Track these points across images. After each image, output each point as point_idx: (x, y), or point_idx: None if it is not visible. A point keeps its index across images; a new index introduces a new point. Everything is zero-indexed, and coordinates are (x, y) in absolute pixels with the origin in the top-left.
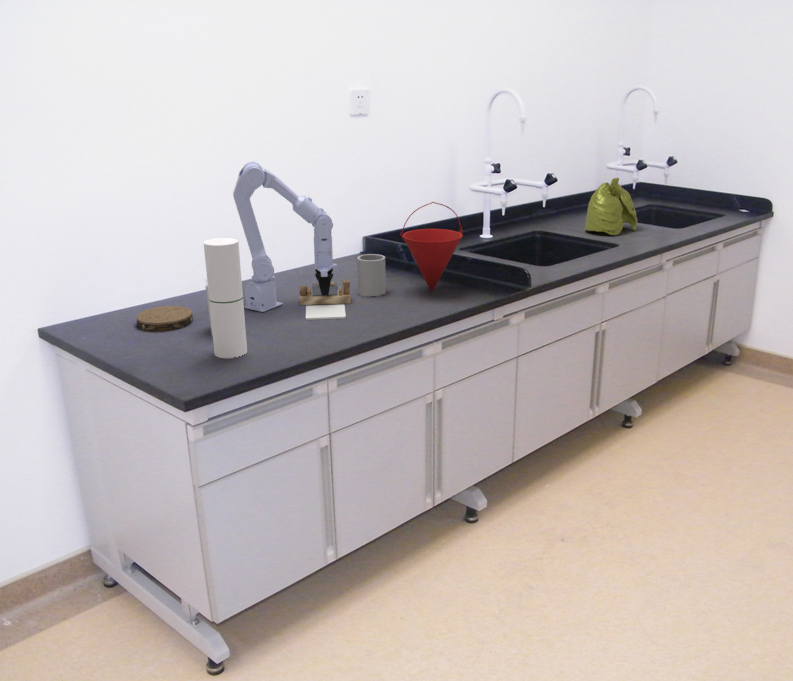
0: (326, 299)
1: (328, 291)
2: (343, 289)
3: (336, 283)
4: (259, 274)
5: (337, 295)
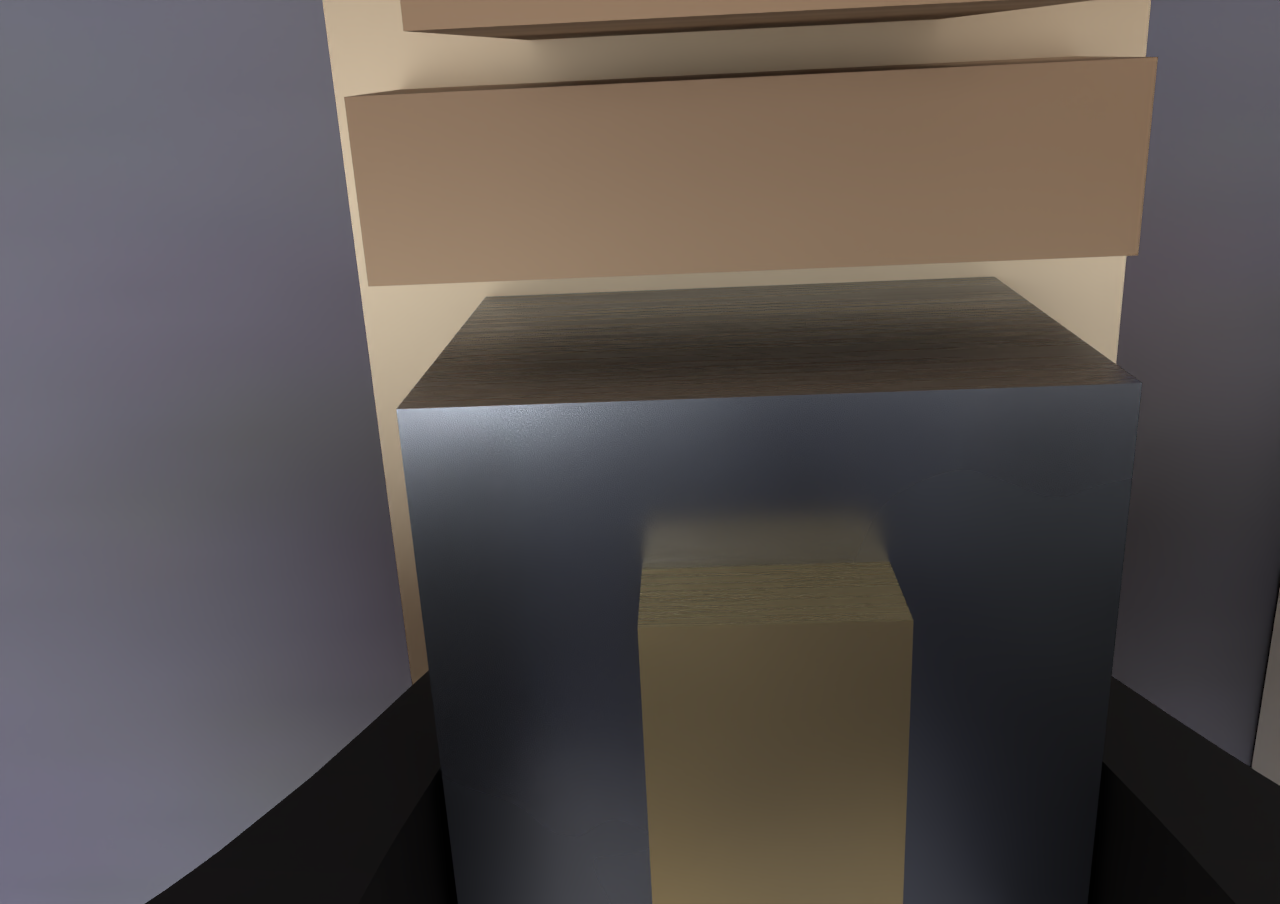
0: None
1: (1142, 707)
2: (932, 15)
3: (543, 443)
4: None
5: (1016, 286)
